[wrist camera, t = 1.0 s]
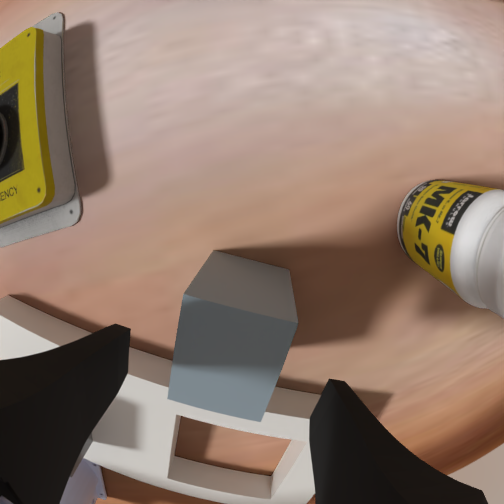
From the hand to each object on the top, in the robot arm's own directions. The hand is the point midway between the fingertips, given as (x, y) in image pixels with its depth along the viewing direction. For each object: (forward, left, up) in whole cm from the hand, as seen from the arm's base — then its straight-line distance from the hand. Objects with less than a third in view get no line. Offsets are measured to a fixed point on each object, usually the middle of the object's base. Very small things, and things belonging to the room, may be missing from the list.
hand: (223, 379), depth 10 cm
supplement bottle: (+7, -9, -7) cm, 13 cm away
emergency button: (+7, +17, -8) cm, 20 cm away
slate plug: (0, 0, -7) cm, 7 cm away
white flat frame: (-11, +4, -7) cm, 14 cm away
